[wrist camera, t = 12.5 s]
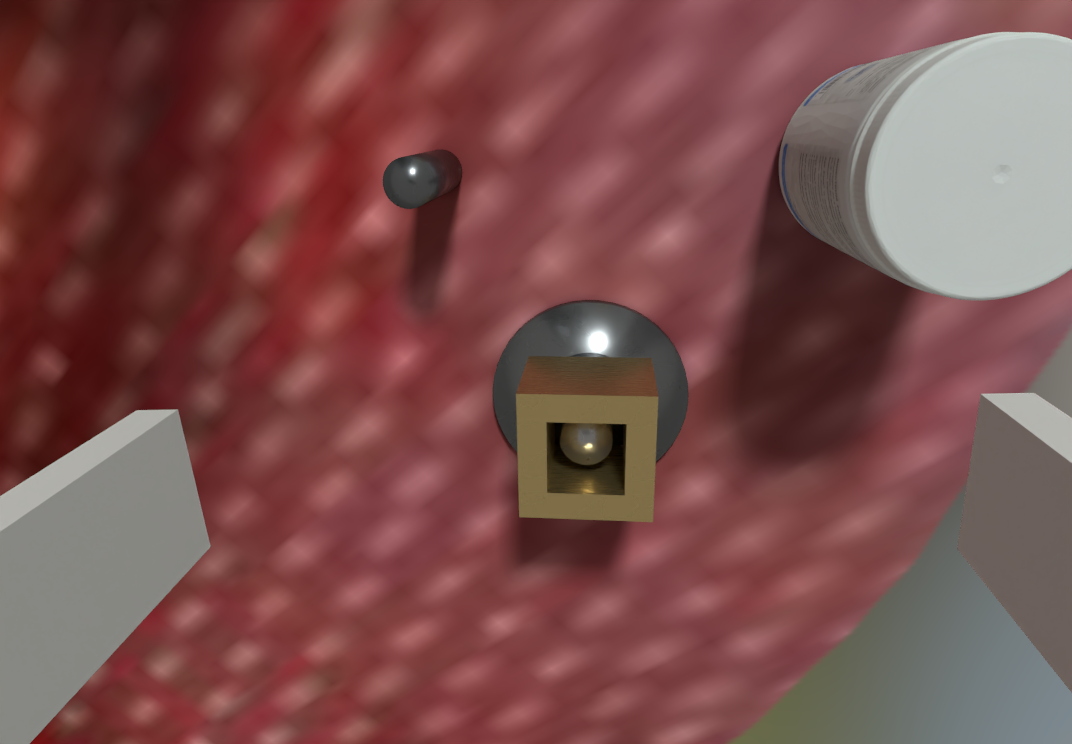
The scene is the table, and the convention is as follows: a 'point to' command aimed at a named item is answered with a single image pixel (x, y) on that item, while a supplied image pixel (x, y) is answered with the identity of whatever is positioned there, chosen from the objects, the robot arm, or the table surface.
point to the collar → (587, 397)
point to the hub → (593, 335)
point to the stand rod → (421, 178)
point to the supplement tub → (943, 164)
